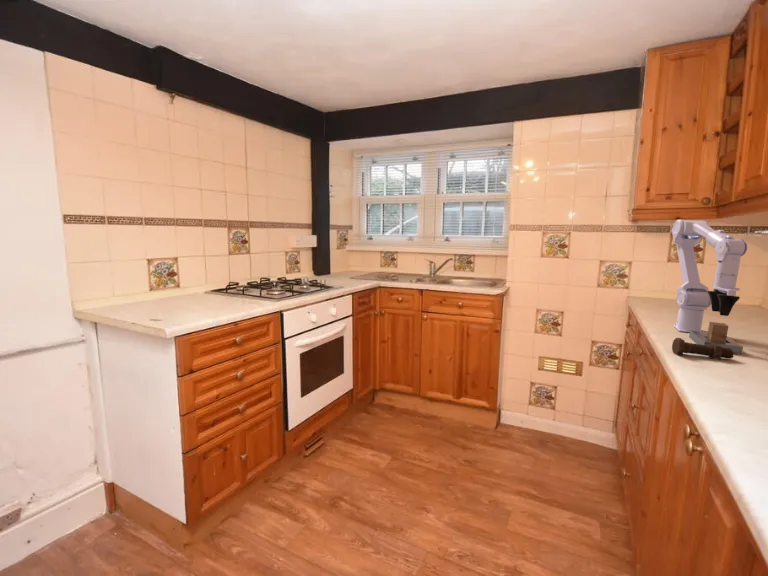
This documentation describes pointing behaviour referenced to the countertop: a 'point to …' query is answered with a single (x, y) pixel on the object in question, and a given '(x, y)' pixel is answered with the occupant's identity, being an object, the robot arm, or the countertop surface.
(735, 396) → the countertop surface
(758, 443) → the countertop surface
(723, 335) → the pin
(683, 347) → the bolt
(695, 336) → the collar plate
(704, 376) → the countertop surface
